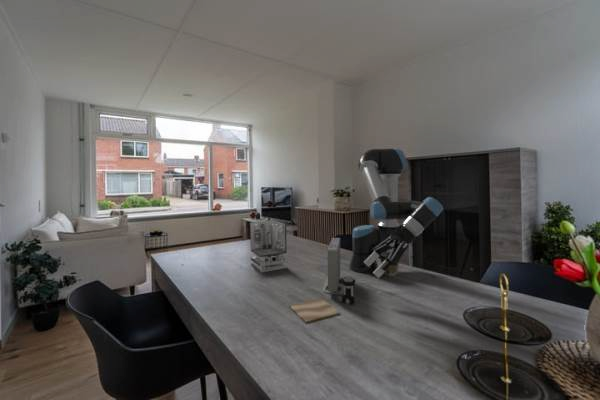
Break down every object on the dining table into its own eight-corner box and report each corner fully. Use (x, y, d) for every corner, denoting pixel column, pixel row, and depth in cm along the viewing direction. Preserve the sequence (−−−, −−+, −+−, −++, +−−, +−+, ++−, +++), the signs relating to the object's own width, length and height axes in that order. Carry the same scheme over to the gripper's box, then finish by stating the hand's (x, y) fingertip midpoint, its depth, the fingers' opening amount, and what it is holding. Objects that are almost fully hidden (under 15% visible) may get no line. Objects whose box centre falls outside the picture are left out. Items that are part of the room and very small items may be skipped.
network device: (342, 298, 114) (342, 250, 113) (321, 296, 116) (320, 249, 114) (344, 276, 139) (344, 237, 138) (327, 276, 141) (327, 237, 139)
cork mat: (289, 306, 107) (289, 305, 107) (320, 299, 113) (320, 298, 113) (305, 323, 94) (305, 321, 94) (340, 314, 100) (340, 312, 100)
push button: (336, 303, 109) (336, 278, 108) (341, 298, 114) (340, 274, 113) (353, 306, 106) (353, 281, 105) (357, 301, 111) (356, 276, 110)
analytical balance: (276, 261, 169) (275, 220, 167) (289, 269, 152) (288, 224, 150) (251, 265, 161) (250, 222, 160) (262, 274, 145) (261, 227, 143)
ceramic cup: (402, 276, 138) (403, 257, 137) (382, 277, 138) (382, 257, 137) (394, 268, 151) (394, 250, 150) (376, 268, 151) (376, 250, 150)
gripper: (431, 244, 95) (388, 288, 96) (402, 231, 120) (368, 266, 121) (415, 229, 95) (372, 273, 96) (390, 219, 120) (356, 255, 121)
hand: (370, 269), depth 108 cm, fingers open, 13 cm apart
